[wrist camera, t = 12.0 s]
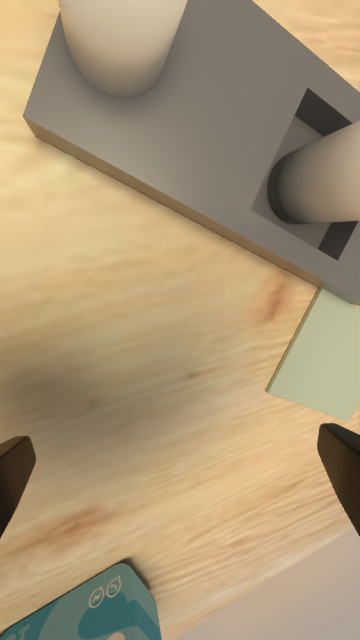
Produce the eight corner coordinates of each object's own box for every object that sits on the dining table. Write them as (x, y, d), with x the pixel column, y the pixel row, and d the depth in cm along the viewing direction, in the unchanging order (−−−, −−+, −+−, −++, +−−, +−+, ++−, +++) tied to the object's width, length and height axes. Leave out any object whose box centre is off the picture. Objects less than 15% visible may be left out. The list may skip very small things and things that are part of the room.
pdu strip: (346, 302, 25) (465, 333, 17) (35, 136, 17) (-23, 45, 9) (411, 181, 23) (574, 151, 15) (106, -58, 16) (111, -367, 8)
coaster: (345, 419, 28) (348, 422, 27) (265, 390, 25) (268, 392, 24) (396, 329, 26) (400, 330, 26) (318, 287, 24) (322, 288, 23)
